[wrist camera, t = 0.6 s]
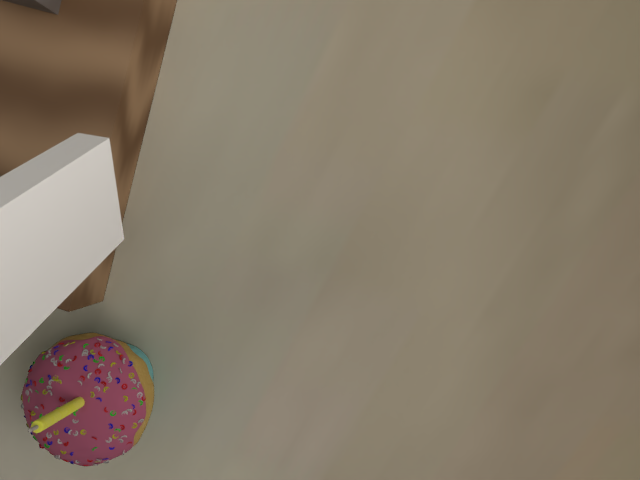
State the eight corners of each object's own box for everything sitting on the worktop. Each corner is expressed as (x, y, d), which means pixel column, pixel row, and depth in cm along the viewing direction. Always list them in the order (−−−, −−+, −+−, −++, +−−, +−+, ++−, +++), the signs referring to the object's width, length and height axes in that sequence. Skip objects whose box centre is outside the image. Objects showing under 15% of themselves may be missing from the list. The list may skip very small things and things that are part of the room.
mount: (103, 300, 36) (12, 329, 27) (-29, 259, 37) (-158, 273, 28) (189, -52, 34) (123, -149, 25) (47, -86, 35) (-66, -191, 26)
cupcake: (127, 296, 36) (3, 337, 24) (202, 383, 35) (115, 469, 23) (48, 369, 37) (-108, 443, 25) (121, 454, 36) (-2, 571, 24)
